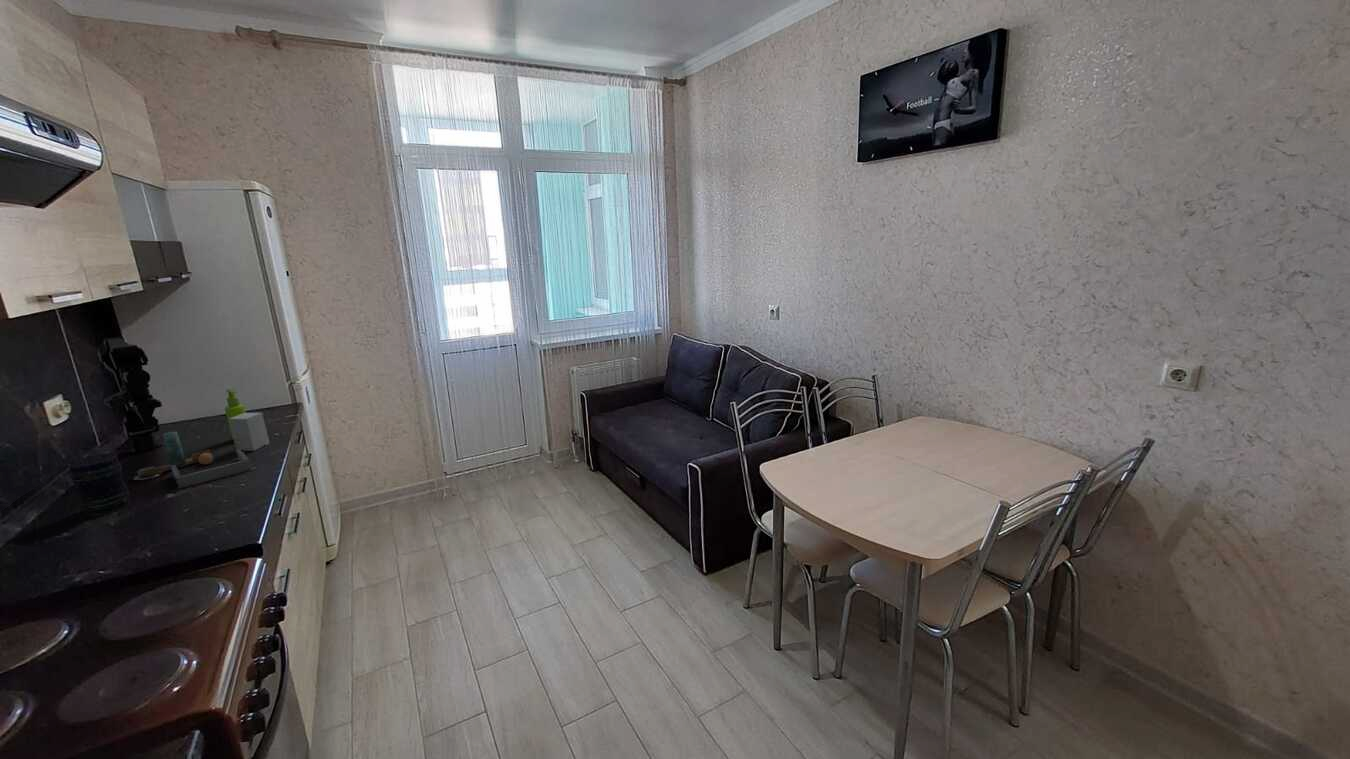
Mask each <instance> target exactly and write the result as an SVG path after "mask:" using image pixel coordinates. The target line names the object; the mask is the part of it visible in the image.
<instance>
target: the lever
mask: <svg viewBox="0 0 1350 759" xmlns="http://www.w3.org/2000/svg"><path fill="white" fill-rule="evenodd" d="M162 437H163V440H164V445H165V448H166V451H167V454H168V457H169V462H170V463H169V464H165V465H161V466H157V467H156V466H148V467H144V468H141V469H138V470H137V471H136V472H137V474H138V475H139V478H146V477H150V476H153V475H156V474H157V473H160V472H166V471H172V470H171V466H173V465H176V467H177V469H180V468H183V467H186V466H188V465H191V464H194V465H195V464H198V463H199V462H198V457H199V456H200V455H201V454H203V453H210V454H211V455H212V456H213V455H214V454H212V453H211V450H210V449H208V450H205V451H200V452H197V453H193V454H190V455H191V458H190V457H189V458H186V459H185V456H184V452H183V448H182V444H181V441H180V437H179V434H178V431H169V432H165V433H163V434H162ZM213 457H214V456H213ZM199 464H200V463H199ZM138 475H137V476H138Z"/></svg>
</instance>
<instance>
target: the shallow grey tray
mask: <svg viewBox="0 0 1350 759" xmlns="http://www.w3.org/2000/svg"><path fill="white" fill-rule="evenodd" d="M235 452H236V456H237V459H238V461H236V462H232V463H227V464H224V465H220V466H216V467H212V468H208V469H204V470H199V471H196V472H191V473H188V474H183V475H181V474H180V471H179V468H177V467H176V465H173V466H171V470H170V471H171V472H172V473H171V474H172V477H173V478H174V481H175V482H176V485H177V487H178V489H179V488H180V489H182V488H181V487H184V488H187V487H186V486H188V487H190V486H189V485H192V486H194V484H195V485H198V484H202V483H205V482H206V483H207V482H211V481H213V480H214V481H215V480H217V479H221V478H225V477H228V476H229V477H230V476H232V475H236V474H241V473H244V472H248V471H252V470H253V468H252V464H251V460H250V459H249V458H248V457H247V456H246V454H245V452H244V451H241V450H235Z"/></svg>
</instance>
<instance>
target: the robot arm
mask: <svg viewBox="0 0 1350 759" xmlns="http://www.w3.org/2000/svg"><path fill="white" fill-rule="evenodd" d="M97 354H98V355H97V356H98V358H99V362H100V363H101V364H102V363H103V365H104V367H105V368H104V369H107V370H108V371H109V372H111V373H112V374H113V375H114V377H115V381H116V383H117V386H118V388H119V392H116V393H114V394H112V395H109V396H107V397H105V398H104V399H102V401H103V403H104V404H105V405H106V406H107V407H108V408H109V409H110V410H115V409H117V408H119V407H120V406H122V405H123V406H125V409H126V412H125V415H124V417H123V422H122V425H123V432H124V435H125V436H126V438H127V439H131V444H132V448H133V449H132V450H130V453H131V452H133V453H138V452H137V451H148V452H151V451H153V450H152V449H154V450H155V448H156V447H158V446H160V444H161V445H162V446H163V443H158V440H157V437H156V434H155V433H157V432H160V431H161V430H160V429H161V428H160V425H159V419H158V418H156V417H155V415H154V412H155V410H156V408H161V407H163V405H162V402H161V400H159V399H158V398H154V397H153V394H151V393H150V390H149V388H150V387H151V386H150V383H149V382H151V375H150V373H149V372H147V371H146V370H144V368H143V366H148V365H149V363H148V362H149V359H148V356H147V354H146V352H145V350H143V349H142V348H141V347H139V346H138V345H137V344H129V342H128V343H127V342H126V341H125V338H124V337H121V336H119V337H110V338H105V339H103V343H102V344H100V346H98V347H97ZM160 447H161V446H160ZM158 448H159V447H158ZM156 449H157V448H156ZM150 450H151V451H150Z"/></svg>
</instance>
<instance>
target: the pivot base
mask: <svg viewBox="0 0 1350 759" xmlns="http://www.w3.org/2000/svg"><path fill="white" fill-rule="evenodd" d="M162 473H163V472H160V473H157V474H156V475H153V476H150V477H146V478H139V475H136V476H134V477H133V481H135V480H142V481H147V480H146V479H148V480H151V479H150V478H152V479H155V478H157V476H158V477H160V476H161V474H162ZM163 474H164V473H163ZM163 474H162V475H163ZM154 477H155V478H154Z"/></svg>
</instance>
